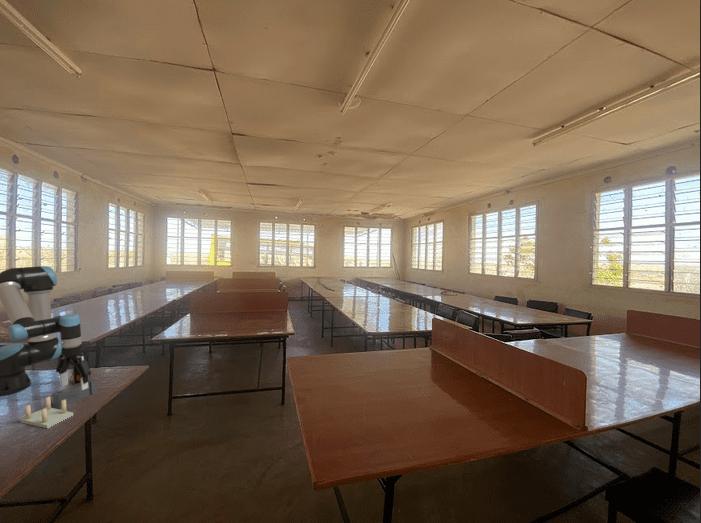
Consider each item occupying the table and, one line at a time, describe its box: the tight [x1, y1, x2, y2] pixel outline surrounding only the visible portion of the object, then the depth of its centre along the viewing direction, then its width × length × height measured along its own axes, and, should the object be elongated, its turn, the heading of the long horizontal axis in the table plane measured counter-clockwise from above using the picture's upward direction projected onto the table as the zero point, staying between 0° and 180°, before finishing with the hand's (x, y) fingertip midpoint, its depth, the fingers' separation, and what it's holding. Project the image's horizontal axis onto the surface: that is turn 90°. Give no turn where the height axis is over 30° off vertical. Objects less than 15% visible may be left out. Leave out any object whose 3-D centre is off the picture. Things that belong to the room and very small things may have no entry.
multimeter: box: [69, 350, 98, 385], centre depth 174 cm, size 15×10×20 cm
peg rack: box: [19, 396, 74, 430], centre depth 139 cm, size 17×10×8 cm, turn 76°
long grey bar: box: [52, 377, 99, 410], centre depth 155 cm, size 17×6×7 cm, turn 166°
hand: (74, 387), depth 154 cm, fingers open, 13 cm apart
